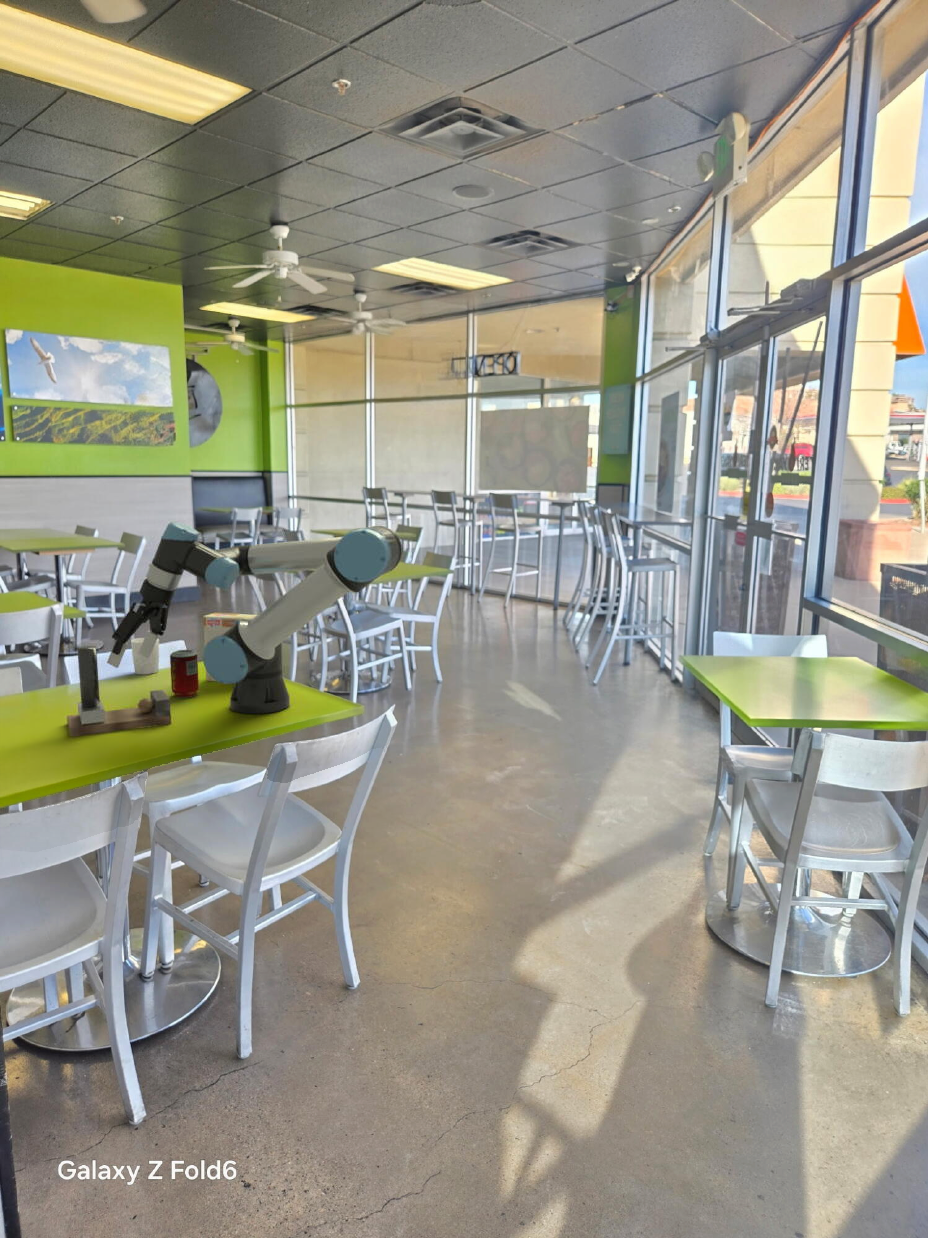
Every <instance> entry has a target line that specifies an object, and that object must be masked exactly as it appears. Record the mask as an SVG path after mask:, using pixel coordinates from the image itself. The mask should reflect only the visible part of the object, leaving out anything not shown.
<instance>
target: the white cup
mask: <svg viewBox="0 0 928 1238" xmlns="http://www.w3.org/2000/svg"><path fill="white" fill-rule="evenodd" d="M144 638H145V637H139V638H134V639H131V640H130V644H131V652H132V653H131V655H132V663H133V665H134V666H133V668H134V669H133V670H134V673H135V674H136V675H151V673H153V674H157V673H158V672H159V663H160V639H159V638H158V637H157V640H156V642H155V644H154V647H153V649H152V651H151V654H150V656H149V658H146V657H144V656H142V655H140V654H138V653H139V650H140V648H141V646H142V643H143V641H144ZM157 671H158V672H157ZM156 672H157V673H156Z"/></svg>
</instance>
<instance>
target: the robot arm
mask: <svg viewBox="0 0 928 1238" xmlns="http://www.w3.org/2000/svg"><path fill="white" fill-rule="evenodd" d="M199 536H200V534H199V531H198V530H196V529H195V528H194V527H191V526H190V525H187V524H185V523H182V522H177V521H171V522H170V523H168V524H167V526H166V528H165V530H164V532H163V534H162V536H161V537H160V541H159V544H158V545H157V549H156V551H155V554H154V556H153V559H152V561H151V563H150V564H148V567H149V568H148V571H147V573H146V575H145V576H146V578H145V579H144V580H143V582H142V584H141V586H140V589H139V595H141V596H142V600H141V601H140V603H139V602H136V601H134V602H133V603H132V604H131V607H130V609H129V611H128V612H127V613H126V615H125V616H124V618H123V619H122V621H121V622H120V623H119V625H118V626H117V628H116V629H115V631H114V632H113V633H112V635H111V639H114V640H115V642H114V645H113V647H112V649H111V652H110V654H109V656H108V659H107V661H106V663H107V664H109V665H110V666H112V667H114V668H115V669H117V668H119V666H120V664H121V662H122V659H123V657H124V654H125V652H126V649H127V647H128V645H129V643H128V641H129V640H130V639H131V637H132V636H133V635H134V634H135V633H136V631H138V629H139V628H140V627H141V626H142V624H146V623H147V622H148V621H149V622H148V623H149V629H150V630H147V632H146V634H145V637H143V638H144V641H143V643H142V646H141V648H140V650H139V653H138V654H140V655H142V656H144V657H146V658H149V656H150V654H151V651H152V649H153V647H154V644H155V642H156V640H157V638H158V637H159V636H161V637H162V636H163V635H164V634H165V631H166V630H167V622H168V616H169V609H170V607H171V604H172V599H173V597H174V595H175V592H176V590H175V589H177V588H178V586H179V583H180V581H181V579H182V576H183V575H184V571H185V572H187V573H188V574H190V575H193V576H194V577H197V578H198V579H200V580H202V581H204V582H206V583H208V584H209V585H211V586H212V587H216V588H217V589H220V590H226V589H229V588H230V587H231V586H233V585H234V583H235V581H236V580H237V578H238V577H243V576H254V575H264V574H276V573H290V572H302V571H312V572H311V573H310V574H308V576H306V577H305V578H303V579H302V580H301V581H300V582H298V583H297V584H296V585H294V586H293V587H292V588H291V589H289V590H288V591H286V592H285V593H284V594H283V595H282V596H280V597H279V598H278V599H277V600H275V601H274V602H273V603H271V604H270V605H268V607H266V608H265V609H264V610H262V611H261V612H260V613H259V614H256V615H257V616H256V617H255V618H254V619H240V620H236V621H235V624H234V626H233V627H232V628H230V629H229V630H228V631H226V632H225V633H224V634H222V635H221V636H217V637H214V638H213V639H212V640H211V641H209V642H208V643H207V645H206V646H205V645H204V649H203V651H202V655H203V656H202V662H203V665H204V668H205V669H204V670H205V671H206V670H207V672H208V673H209V675H210V676H211V677H212V678H213V679H215V680H216V681H218V683H219V684H225V685H232V684H234V686H233V689H232V692H231V695H230V699H229V704H230V705H229V707H230V709H231V711H234V712H236V713H241V714H251V715H252V714H253V715H256V714H269V713H270V714H271V713H274V712H279V711H283V710H285V709H287V708H289V706H290V704H291V701H290V694H289V692H288V688H287V686H286V683H285V681H284V677H283V654H282V653H283V650H282V649H283V645H282V643H283V642H285V640H287V639H289V637H291V636H293V634H295V633H296V632H297V631H298V630H300V629H301V628H303V627H304V626H305V625H307V624H308V623H309V622H311V621H312V620H313V619H315V617H316V618H317V616H319V615H320V614H321V613H322V612H323V611H325V610H326V609H328V608H329V607H330V606H332V605H334V603H336V602H337V601H338V600H339V599H341V598H342V597H343V596H345V595H346V594H347V593H352V594H358V593H360V592H362V590H364V589H365V588H366V587H368V586H369V585H370V584H372V583H373V582H374V581H375V580H376V579H378V578H380V577H381V576H383V575H385V574H387V573H390V572H391V571H393V570H394V569H395V568H396V567H398V565H399V563H400V561H401V560H402V556H403V545H402V544H403V543H402V540H401V539H400V536H399V535H398V534H397V533H396V532H395V531H393V530H392V529H391V528H389V527H387V526H382V525H374V526H370V527H360V528H359V527H358V528H356V529H352V530H350V531H349V532H347V533H345V534H344V535H343V536H338V537H336V536H335V537H325V538H315V539H314V538H313V539H304V540H293V541H291V540H290V541H283V542H282V541H281V542H272V543H261V544H252V545H243V544H242V545H241V544H240V545H233V546H231V547H224V548H219V549H213V548H210V547H209V546H206V545H205V544H203V543H201V542H200V541H198V540H199ZM216 681H215V682H216Z"/></svg>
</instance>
